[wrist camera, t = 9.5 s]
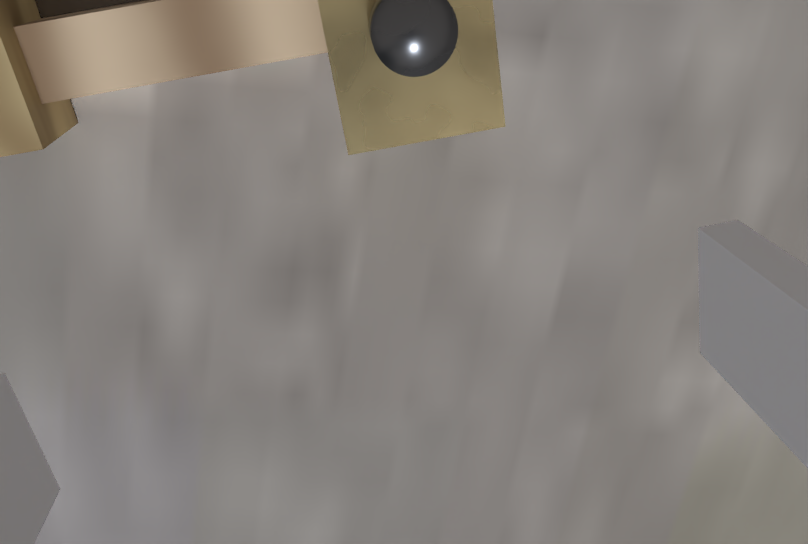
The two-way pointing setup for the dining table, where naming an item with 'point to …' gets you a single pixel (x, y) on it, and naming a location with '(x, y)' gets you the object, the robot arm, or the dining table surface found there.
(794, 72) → the dining table surface
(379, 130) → the block
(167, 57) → the bar
